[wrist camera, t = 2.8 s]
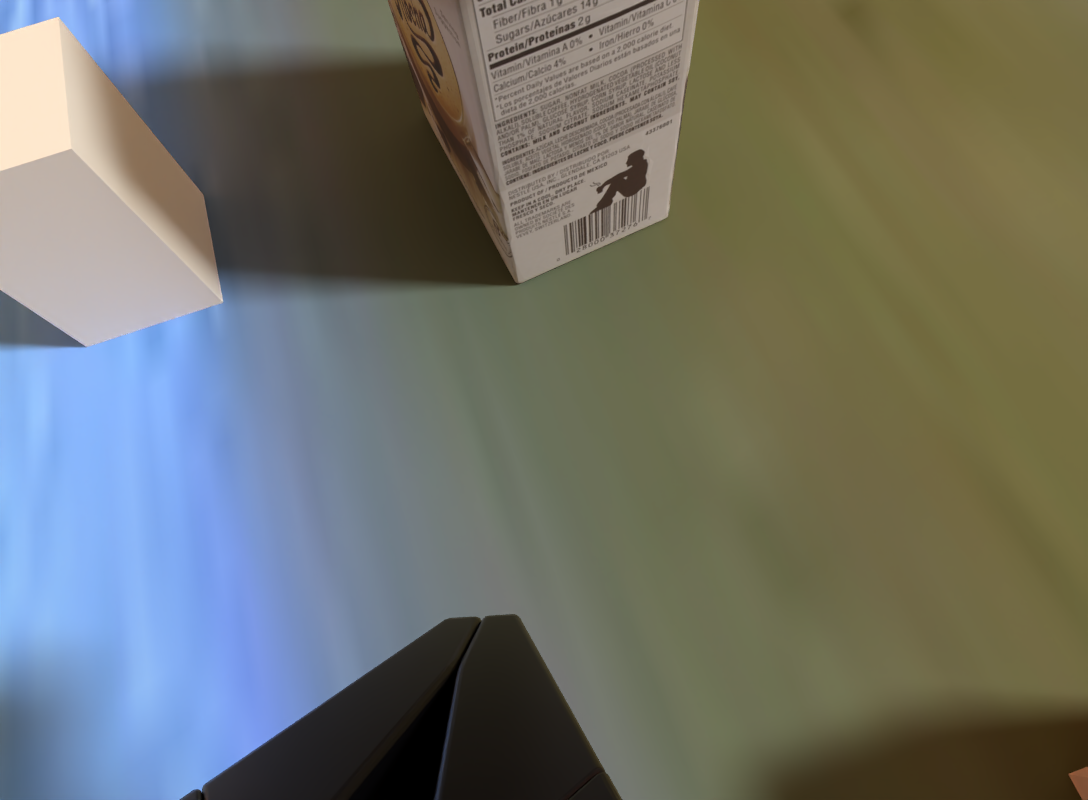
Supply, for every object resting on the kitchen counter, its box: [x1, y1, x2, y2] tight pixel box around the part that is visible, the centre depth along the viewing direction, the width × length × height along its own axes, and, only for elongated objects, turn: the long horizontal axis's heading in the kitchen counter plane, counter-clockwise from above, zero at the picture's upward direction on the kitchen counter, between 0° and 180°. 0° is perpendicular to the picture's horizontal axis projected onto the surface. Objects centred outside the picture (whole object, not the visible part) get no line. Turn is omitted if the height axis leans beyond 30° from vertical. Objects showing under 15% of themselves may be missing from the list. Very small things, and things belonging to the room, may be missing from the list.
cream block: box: [0, 17, 223, 347], centre depth 23 cm, size 5×5×8 cm
